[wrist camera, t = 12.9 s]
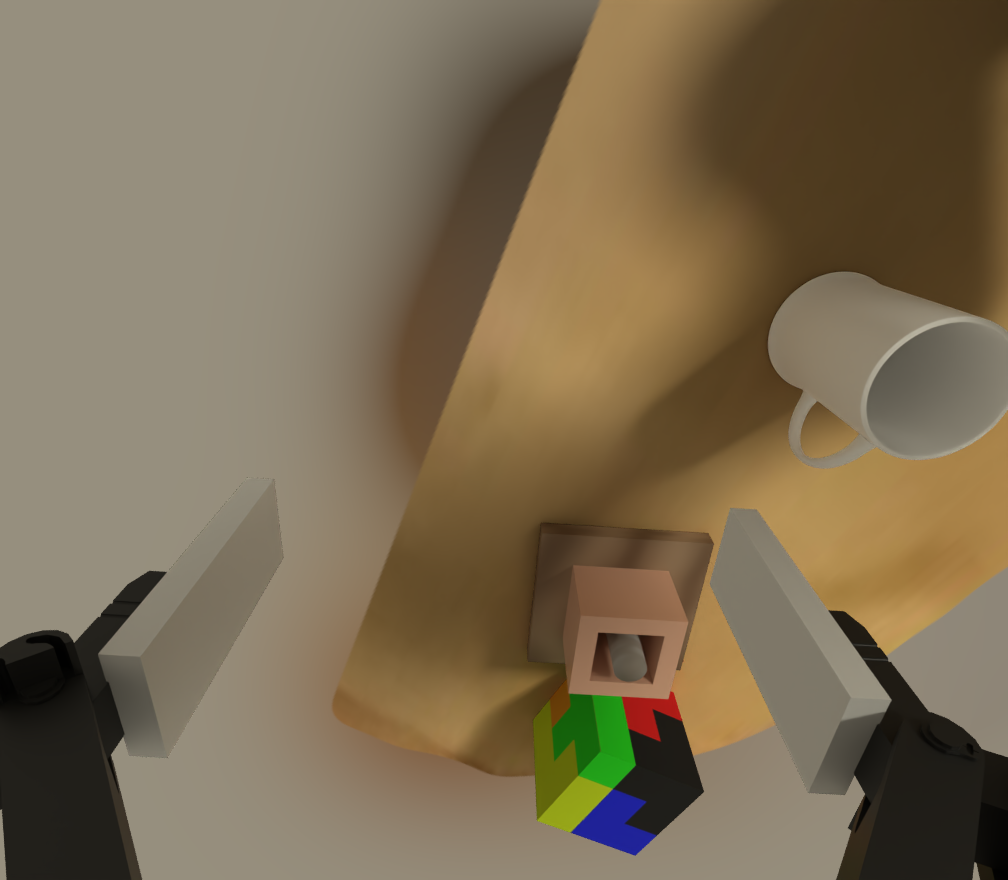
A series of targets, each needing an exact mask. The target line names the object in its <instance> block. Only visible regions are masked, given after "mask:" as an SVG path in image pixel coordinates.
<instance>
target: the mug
mask: <svg viewBox="0 0 1008 880" xmlns="http://www.w3.org/2000/svg"><path fill="white" fill-rule="evenodd" d="M768 352H769V357H770V360H771V363H772V365H773V367H774V369H775V370H776V372H777V373H778V374H779V375H780V376H781V377H782V378H783V379H784V380H785V381H786V382H788V383H789V384H791V385H793V386H795V387H797V388H800V389H802V390H803V393H802V395H801V397H800V399H799V401H798V403H797V405H796V407H795V409H794V411H793V414H792V417H791V420H790V424H789V432H788V438H789V444H790V447H791V450H792V452H793V453H794V455H795V456H796V457H797V458H798V459H799V460H800V461H802V462H803V463H805V464H807V465H809V466H811V467H815V468H823V469H825V468H834V467H839V466H842V465H845V464H847V463H850V462H852V461H854V460H856V459H857V458H859V457H861V456H862V455H864V454H865V453H867V452H868V451H870V450H872V449H873V448H876V447H878V448H879V449H880V450H882V451H884V452H885V453H887V454H890V455H892V456H895V457H898V458H902V459H909V460H926V459H933V458H938V457H942V456H945V455H949V454H951V453H954V452H956V451H959V450H961V449H963V448H965V447H967V446H968V445H970V444H972V443H973V442H975V441H977V440H978V439H979V438H981V437H982V436H983V435H985V434H986V433H987V432H988V431H989V430H990V429H992V428H993V427H994V426H995V425H996V424H997V422H998V421H999V420H1000V419H1001V418H1002V417H1003V415H1004V414H1005V413H1006V411H1007V410H1008V332H1007V331H1006V330H1005V329H1004V328H1003V327H1001V326H1000V325H998V324H996V323H994V322H992V321H990V320H987V319H985V318H982V317H979V316H976V315H973V314H969V313H966V312H963V311H960V310H957V309H954V308H951V307H948V306H945V305H942V304H939V303H936V302H933V301H930V300H927V299H924V298H920V297H917V296H914V295H911V294H908V293H905V292H902V291H899V290H896V289H893V288H890V287H887V286H884V285H881V284H879V283H878V282H877V281H875V280H874V279H872V278H870V277H868V276H866V275H863V274H860V273H855V272H834V273H829V274H825V275H822V276H819V277H817V278H814V279H812V280H810V281H808V282H807V283H805V284H803V285H802V286H801V287H799V288H798V289H797V290H795V291H794V292H793V293H792V294H791V295H790V296H789V297H788V298H787V299H786V300H785V301H784V303H783V304H782V305H781V307H780V308H779V310H778V311H777V313H776V315H775V317H774V319H773V321H772V324H771V327H770V331H769V336H768ZM817 401H818V402H819V403H821V404H822V405H823V406H824V407H826V408H827V409H828V410H830V411H831V412H832V413H834V414H835V415H836V416H837V417H839V418H840V419H841V420H843V421H844V422H845V423H846V424H848V425H849V426H850V427H852V428H853V429H854V430H855V431H857V432H858V433H859V435H858V436H857V437H856V438H855V439H854V440H853V442H852V443H850V444H849V445H848V446H847V447H845V448H844V449H842V450H841V451H839V452H837V453H835V454H833V455H830V456H827V457H823V458H811V457H808V456H806V455H805V454H804V452H803V450H802V448H801V443H800V434H801V429H802V425H803V422H804V420H805V417H806V415H807V413H808V412H809V410H810V409H811V407H812V406H813V405H814V404H815V403H816V402H817Z"/></svg>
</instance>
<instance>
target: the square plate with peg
mask: <svg viewBox="0 0 1008 880" xmlns="http://www.w3.org/2000/svg"><path fill="white" fill-rule="evenodd" d="M713 545H714V543H713V541H712V539H711V537H710V536H709V534H708V533H695V532H679V531H663V530H647V529H631V528H615V527H599V526H583V525H567V524H551V523H541V529H540V538H539V547H538V556H537V565H536V574H535V583H534V592H533V601H532V610H531V619H530V628H529V638H528V647H527V658H528V662H545V663H562V664H565V656H564V647H563V632H564V625H565V618H566V611H567V604H568V597H569V590H570V583H571V576H572V569H573V565H579V566H595V567H612V568H628V569H644V570H660V571H669V573H670V576H671V578H672V581H673V583H674V586H675V589H676V591H677V594H678V596H679V599H680V601H681V604H682V607H683V609H684V612H685V614H686V617H687V620H688V626H687V630H686V634H685V637H684V641H683V645H682V649H681V653H680V656H679V660H678V664H677V668H676V670H681V666H682V662H683V658H684V655H685V651H686V647H687V643H688V640H689V636H690V632H691V628H692V624H693V621H694V617H695V613H696V609H697V606H698V602H699V598H700V594H701V591H702V587H703V583H704V579H705V576H706V572H707V568H708V564H709V560H710V557H711V553H712V549H713ZM606 635H607V640H608V645H609V650H610V655H611V660H612V665H613V670H614V674H615V676H616V677H617V678H618V679H620V680H622V681H626V682H632V681H637V680H639V679H641V678H642V677H643V676H644V675H645V674H646V672H647V665H646V661H645V658H644V654H643V650H642V646H641V643H640V639H639V635H634V634H618V633H606Z"/></svg>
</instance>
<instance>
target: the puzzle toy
mask: <svg viewBox="0 0 1008 880" xmlns="http://www.w3.org/2000/svg"><path fill="white" fill-rule="evenodd" d="M533 733H534V759H535V784H536V807H537V821H539V822H542V823H545V824H548V825H550V826H553V827H556V828H559V829H562V830H564V831H567V832H570V833H573V834H576V835H579V836H581V837H584V838H587V839H590V840H593V841H596V842H598V843H601V844H604V845H607V846H610V847H613V848H615V849H618V850H621V851H624V852H626V853H630V854H632V855H636V854H637V853H638V852H640V851H641V850H642V849H643V848H644V847H645V846H646V845H647V844H648V843H649V842H650V841H651V840H653V839H654V838H655V837H656V836H657V835H658V834H659V833H660V832H661V831H662V830H663V829H664V828H666V827H667V826H668V825H669V824H670V823H671V822H672V821H673V820H674V819H675V818H676V817H677V816H679V814H681V813H682V812H683V811H684V810H685V809H686V808H687V807H688V806H689V805H690V804H691V803H693V802H694V801H695V800H696V799H697V798H698V797H699V796H700V795H701V794H702V793H703V792H704V790H703V787H702V784H701V781H700V777H699V774H698V771H697V767H696V764H695V761H694V758H693V754H692V751H691V748H690V745H689V741H688V738H687V735H686V732H685V728H684V725H683V722H682V719H681V715H680V712H679V709H678V706H677V702H676V699H675V696H674V693H673V692H671V691H670V695H669V698H668V699H657V698H639V697H622V696H605V695H587V694H570V693H568V684H567V679H566V680H565V681H564V683H563V684H562V685H561V686H560V687H559V689H558V690H557V691H556V692H555V694H554V695H553V696H552V697H551V699H550V700H549V701H548V702H547V703H546V705H545V706H544V707H543V708H542V710H541V711H540V712H539V713H538V714H537V716H536V717H535V718H534V719H533Z"/></svg>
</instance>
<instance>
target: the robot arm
mask: <svg viewBox="0 0 1008 880" xmlns="http://www.w3.org/2000/svg"><path fill="white" fill-rule="evenodd" d="M282 559H283V551H282V542H281V534H280V525H279V517H278V509H277V499H276V491H275V482H274V479H264V478H248V477H247V478H246V479H245V481H244V482H243V483H242V484H241V485H240V486H239V488H238V489H237V490H236V491H235V493H234V494H233V495H232V496H231V497H230V498H229V500H228V501H227V502H226V503H225V504H224V506H223V507H222V508H221V509H220V510H219V511H218V513H217V514H216V515H215V516H214V517H213V518H212V520H211V521H210V522H209V523H208V524H207V526H206V527H205V528H204V529H203V530H202V532H201V533H200V534H199V535H198V536H197V537H196V539H195V540H194V541H193V542H192V543H191V545H190V546H189V547H188V548H187V549H186V550H185V552H184V553H183V554H182V555H181V556H180V558H179V559H178V560H177V561H176V563H175V564H174V565H173V566H172V567H171V568H170V569H169V571H168V572H159V571H149V572H147V573H145V574H144V575H142V576H140V577H139V578H137V579H136V580H134V581H132V582H131V583H129V584H128V585H127V586H126V587H125V588H124V589H123V590H122V591H121V592H120V594H119V595H118V596H117V597H116V598H115V599H114V600H113V603H112V604H110V605H109V606H108V607H107V608H106V609H105V610H104V611H103V612H102V613H101V617H98V618H97V619H96V620H95V621H94V622H93V623H92V624H91V626H89V628H88V629H87V630H86V631H85V632H84V633H83V634H82V635H81V636H80V637H79V638H78V640H77V641H76V642H75V643H74V642H73V640H72V639H71V637H70V636H69V634H67V633H64V632H61V631H58V630H46V631H39V632H35V633H31V634H27V635H24V636H22V637H19V638H17V639H15V640H12V641H10V642H8V643H7V644H5V645H4V646H2V647H1V648H0V810H1V809H2V814H3V815H2V817H3V831H4V847H5V861H6V877H7V880H142V877H141V873H140V869H139V865H138V861H137V857H136V853H135V849H134V844H133V841H132V836H131V832H130V829H129V824H128V820H127V816H126V812H125V808H124V804H123V800H122V796H121V791H120V788H119V784H118V780H117V775H116V771H115V767H114V763H113V760H112V757H111V754H112V752H113V751H114V749H115V748H116V746H117V745H118V743H119V742H120V740H121V739H122V737H124V740H125V743H126V747H127V750H128V753H129V756H142V757H159V758H168V756H169V754H170V753H171V751H172V749H173V748H174V746H175V744H176V742H177V741H178V739H179V737H180V735H181V734H182V732H183V730H184V729H185V727H186V725H187V723H188V722H189V720H190V718H191V717H192V715H193V713H194V711H195V710H196V708H197V706H198V704H199V703H200V701H201V699H202V698H203V696H204V694H205V692H206V691H207V689H208V687H209V685H210V684H211V682H212V680H213V678H214V677H215V675H216V673H217V671H218V670H219V668H220V666H221V665H222V663H223V661H224V659H225V658H226V656H227V654H228V653H229V651H230V649H231V647H232V646H233V644H234V642H235V641H236V639H237V637H238V635H239V634H240V632H241V630H242V629H243V626H244V625H245V623H246V622H247V620H248V618H249V616H250V614H251V613H252V611H253V610H254V608H255V606H256V604H257V602H258V601H259V599H260V597H261V596H262V594H263V592H264V590H265V589H266V587H267V585H268V583H269V582H270V580H271V578H272V577H273V575H274V573H275V571H276V570H277V568H278V566H279V565H280V563H281V561H282ZM710 586H711V588H712V590H713V592H714V594H715V596H716V598H717V600H718V603H719V605H720V607H721V609H722V611H723V613H724V615H725V617H726V620H727V622H728V624H729V626H730V628H731V630H732V632H733V634H734V637H735V639H736V641H737V643H738V645H739V647H740V649H741V651H742V653H743V656H744V658H745V660H746V662H747V664H748V666H749V668H750V670H751V673H752V675H753V677H754V679H755V681H756V683H757V685H758V687H759V690H760V692H761V694H762V696H763V698H764V700H765V702H766V704H767V706H768V709H769V711H770V713H771V715H772V717H773V719H774V721H775V723H776V726H777V728H778V730H779V732H780V734H781V736H782V738H783V740H784V742H785V744H786V747H787V749H788V751H789V753H790V755H791V757H792V759H793V761H794V764H795V765H796V768H797V770H798V772H799V774H800V776H801V778H802V781H803V783H804V785H805V787H806V789H807V791H808V793H819V794H838V795H845V794H846V792H847V790H848V788H849V786H850V784H851V782H852V779H853V777H854V775H855V776H856V778H857V780H858V782H859V784H860V785H861V787H862V789H863V791H864V793H865V796H864V797H863V799H862V801H861V803H860V805H859V807H858V809H857V811H856V813H855V815H854V817H853V819H852V821H851V823H850V825H849V827H848V828H849V829H850V830H852V831H851V834H850V838H849V841H848V844H847V847H846V850H845V854H844V857H843V860H842V863H841V866H840V869H839V873H838V876H837V879H836V880H972V878H973V869H974V862H976V863H977V867H978V872H979V876H980V880H1008V757H1005V756H1002V755H998V754H995V753H992V752H989V751H986V750H983V749H981V747H980V746H979V744H978V743H977V742H976V740H975V739H974V738H973V737H972V736H971V735H970V734H968V733H967V732H966V731H965V730H964V729H963V728H962V727H960V726H958V725H957V724H955V723H954V722H952V721H950V720H949V719H947V718H945V717H942V716H939V715H937V714H934V713H931V712H928V710H927V709H926V708H925V707H924V705H923V704H922V702H921V701H920V700H919V698H918V697H917V696H916V695H915V693H914V692H913V691H912V689H911V688H910V687H909V685H908V684H907V683H906V681H905V680H904V679H903V677H902V676H901V675H900V673H899V672H898V671H897V669H896V668H895V667H894V666H893V665H892V663H891V662H888V658H887V656H886V655H885V654H884V652H883V651H882V650H881V648H878V647H877V643H876V642H875V641H874V639H873V638H872V637H871V635H870V634H869V633H868V631H867V630H866V629H865V627H863V626H862V625H861V624H860V623H858V622H857V621H856V620H855V619H853V618H852V617H851V616H850V615H848V614H847V613H846V612H844V611H830V610H827V608H826V607H825V605H824V604H823V603H822V601H821V600H820V598H819V597H818V596H817V594H816V593H815V591H814V590H813V589H812V587H811V586H810V584H809V583H808V581H807V580H806V579H805V577H804V576H803V574H802V573H801V572H800V570H799V569H798V567H797V566H796V565H795V563H794V562H793V560H792V559H791V557H790V556H789V555H788V553H787V552H786V550H785V549H784V548H783V546H782V545H781V543H780V542H779V541H778V539H777V538H776V536H775V535H774V534H773V532H772V531H771V529H770V528H769V526H768V525H767V524H766V522H765V521H764V519H763V518H762V517H761V515H760V514H759V512H758V511H757V510H755V509H739V508H730V511H729V515H728V518H727V522H726V526H725V529H724V533H723V537H722V540H721V544H720V548H719V551H718V555H717V559H716V563H715V566H714V570H713V574H712V577H711V581H710Z"/></svg>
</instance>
